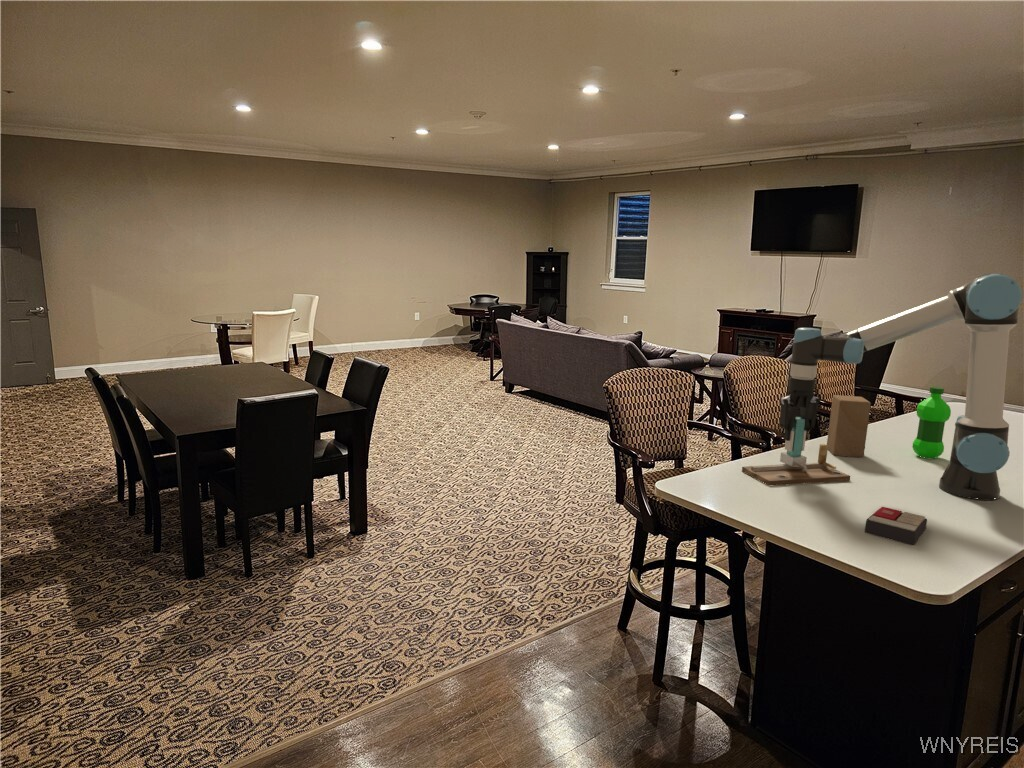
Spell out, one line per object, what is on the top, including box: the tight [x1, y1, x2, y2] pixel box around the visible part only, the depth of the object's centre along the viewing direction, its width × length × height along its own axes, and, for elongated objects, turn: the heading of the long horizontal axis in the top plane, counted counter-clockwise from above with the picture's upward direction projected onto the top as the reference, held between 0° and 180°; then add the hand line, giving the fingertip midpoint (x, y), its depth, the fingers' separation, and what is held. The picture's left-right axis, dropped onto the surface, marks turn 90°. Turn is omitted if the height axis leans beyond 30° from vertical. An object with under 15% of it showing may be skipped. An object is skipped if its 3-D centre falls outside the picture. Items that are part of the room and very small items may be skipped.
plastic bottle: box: [911, 386, 952, 459], centre depth 234 cm, size 10×10×25 cm
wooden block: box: [826, 394, 872, 458], centre depth 236 cm, size 10×10×20 cm
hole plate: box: [741, 443, 851, 486], centre depth 209 cm, size 14×29×9 cm, turn 105°
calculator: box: [864, 506, 928, 546], centre depth 168 cm, size 11×4×15 cm
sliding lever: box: [779, 416, 808, 473], centre depth 210 cm, size 9×5×16 cm, turn 15°
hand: (794, 449), depth 212 cm, fingers open, 4 cm apart
